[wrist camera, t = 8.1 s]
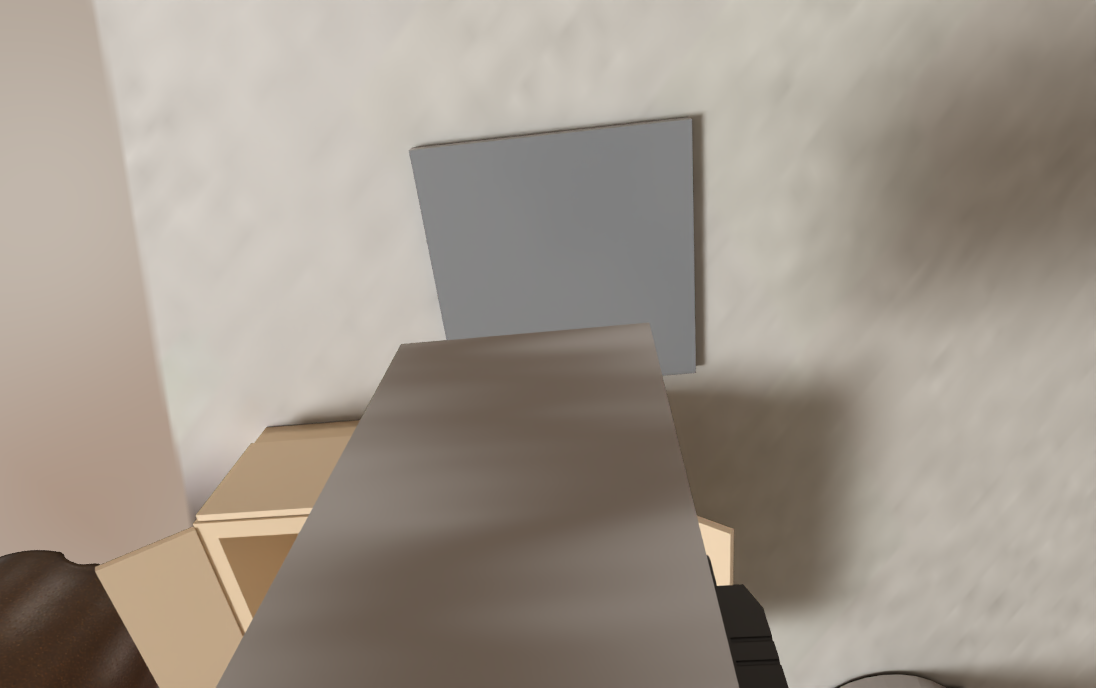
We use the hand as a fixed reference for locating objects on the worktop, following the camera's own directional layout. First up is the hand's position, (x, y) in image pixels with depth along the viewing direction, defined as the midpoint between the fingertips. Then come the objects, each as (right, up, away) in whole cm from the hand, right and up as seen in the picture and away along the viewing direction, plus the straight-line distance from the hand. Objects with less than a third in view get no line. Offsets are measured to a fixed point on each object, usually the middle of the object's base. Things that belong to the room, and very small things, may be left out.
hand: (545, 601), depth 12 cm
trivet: (+1, +8, +16) cm, 18 cm away
